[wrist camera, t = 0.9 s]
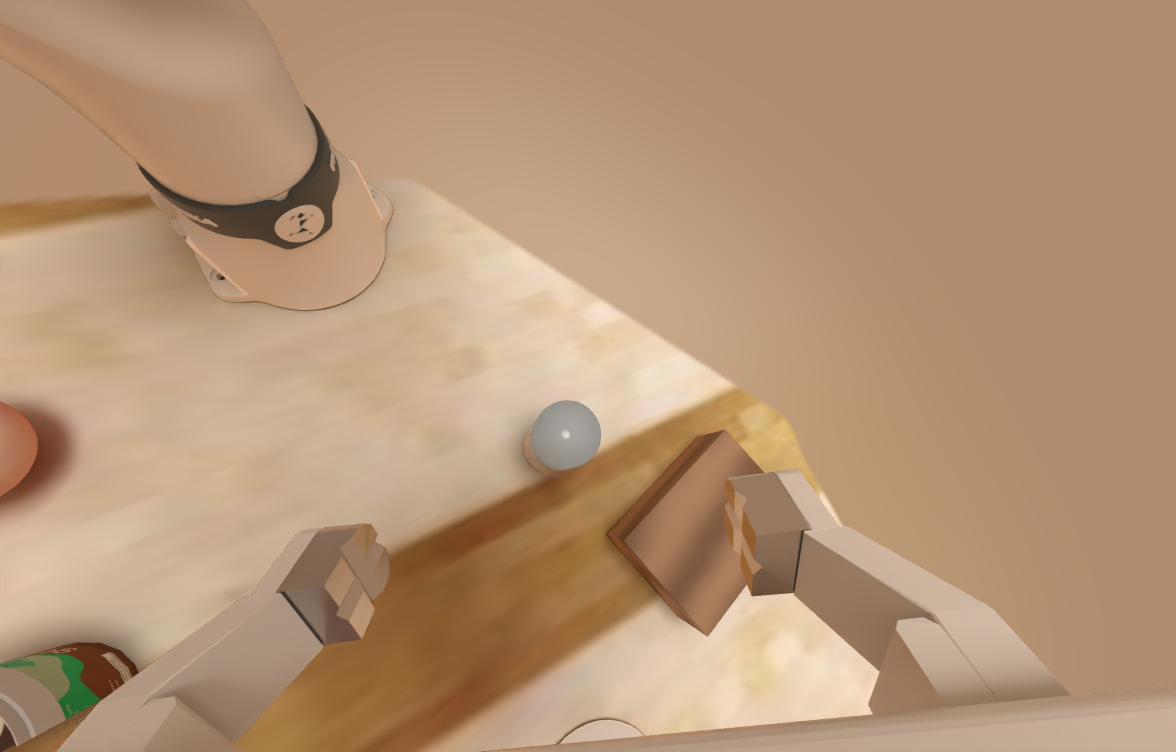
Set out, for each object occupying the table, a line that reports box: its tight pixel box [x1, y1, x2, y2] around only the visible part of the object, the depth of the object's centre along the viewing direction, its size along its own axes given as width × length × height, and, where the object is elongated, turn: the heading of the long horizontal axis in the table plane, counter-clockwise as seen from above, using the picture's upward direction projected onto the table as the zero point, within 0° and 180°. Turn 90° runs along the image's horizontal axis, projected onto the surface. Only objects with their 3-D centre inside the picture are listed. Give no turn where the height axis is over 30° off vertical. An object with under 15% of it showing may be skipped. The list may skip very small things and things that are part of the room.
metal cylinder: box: [523, 401, 601, 473], centre depth 38 cm, size 5×5×11 cm
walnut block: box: [606, 430, 764, 636], centre depth 42 cm, size 11×15×6 cm
